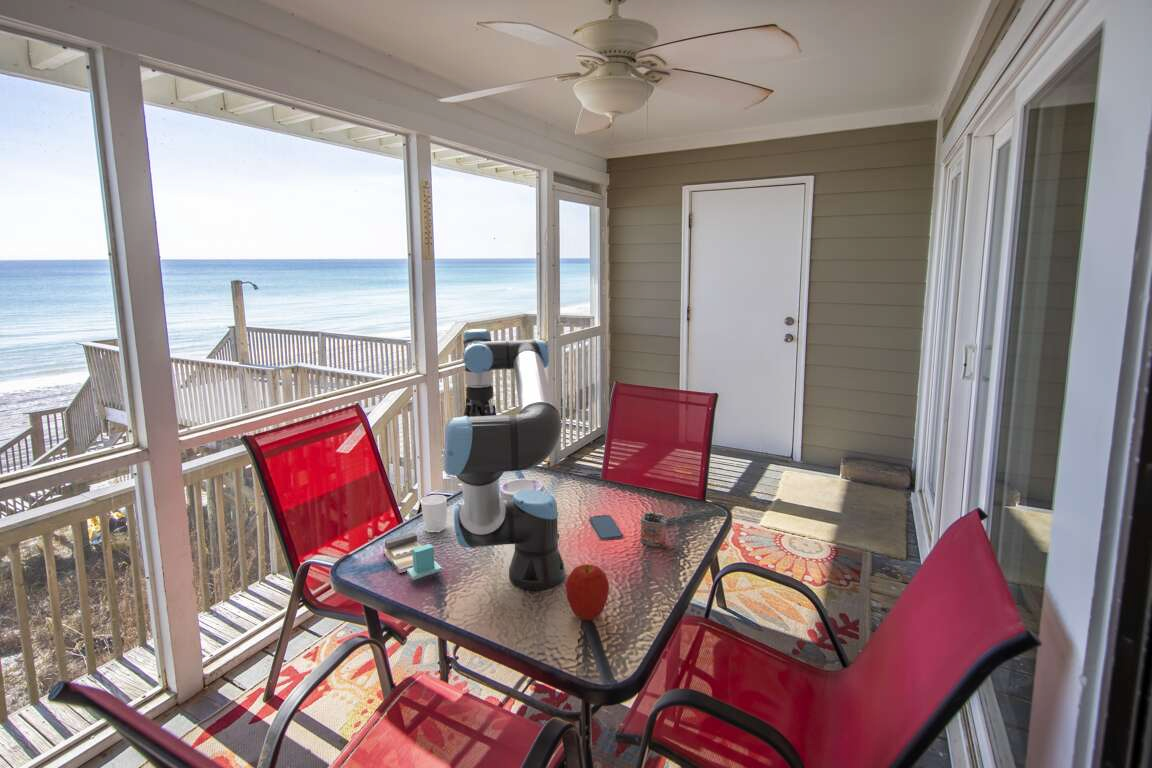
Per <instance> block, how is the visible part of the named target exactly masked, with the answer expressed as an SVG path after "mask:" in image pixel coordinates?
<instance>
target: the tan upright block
mask: <svg viewBox="0 0 1152 768" xmlns="http://www.w3.org/2000/svg"><path fill="white" fill-rule="evenodd" d="M639 520H640V540H639V542H640V543H641V544H644V545H647V546H651V547H657V548H665V547H666V546H667V541H666V534H667V533H666V532H667V529H666V528H667V521H666V520H665V514H664V513H659V512H655V511H654V510H651V511H644V516H641V517H640V519H639Z"/></svg>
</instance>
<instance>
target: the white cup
mask: <svg viewBox="0 0 1152 768" xmlns="http://www.w3.org/2000/svg"><path fill="white" fill-rule="evenodd" d="M447 501H448V500H447V497H446V496H445V495H442V494H431V495H427V496H424V497H423V498H421V500H420V504H421V505H420V506H421V513H422V519H423V524H424V530H425V529H426V530H428V531H435V532H436V531H441V530H444V529H445V528H446V529H447V515H448V514H447V513H448V512H447V509H448V507H447ZM446 529H445V530H446ZM445 530H444V531H445Z"/></svg>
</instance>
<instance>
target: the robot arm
mask: <svg viewBox="0 0 1152 768" xmlns="http://www.w3.org/2000/svg"><path fill="white" fill-rule="evenodd" d="M549 351H550V350H549V344H548V343H547V341H546V340H544V339H532V338H531V339H526V340H525V339H523V340H521V339H519V340H493V341H492V334H491V332H490V330H488V329H482V328H480V329H479V328H476V329H466V330H465V331H464V332H463V353H462V359H463V360H462V361H463V363H464V378H465V380H464V381H465V385H466V387H465V394H466V397H465V408H464V413H463V416H459V417H452V418H450V419H448V420H447V421H446V424H445V429H444V430H445V431H444V446H443V447H444V448H443V449H444V451H443V453H444V455H443V456H444V457H443V459H444V460H443V469H444V473H445V474H446V475H448V476H453V477H456V478H457V479H458V480H459V481H460V482H461V490H462V497H463V501H461V502H459V503H457V504H455V507H454V510H453V511H454V512H453V523H454V531H455V537H456V541H457V543H458V545H459V546H460V547H462V548H465V549H467V548H468V549H469V548H471V549H475V548H479V547H492V546H494V547H495V546H505V545H514V551H513V555H512V559H511V562H510V564H509V568H508V579H509V581H510V583H512V585H514V586H515V587H517V588H520V589H523V590H528V591H542V590H547V589H551V588H553V587H556V586H557V585H559V584H560V583H562V582H563V580H565V576H566V572H565V571H566V566H565V563H564V560H563V558H562V555H561V552H560V550H559V542H558V541H559V537H558V536H559V535H558V533H559V532H558V517H559V513H558V506H557V505H558V503H557V501H556V499H555V497H554V496H552V495H551V494H549V493H548V492H545V491H544V492H542V491H538V490H521V491H518V492H516V493H515V494H514V495H513V497H512V499H504V500H502V499H501V498H500V478H501V477H502V476H503V474H504V472H517V471H519V472H520V471H526V470H530V469H533V468H535V467H537V466H539V465H540V464H541V463H543V462H544V461H546V459H547V458H549V456H551V455H552V453H553V451H554V450H555V448H556V447H557V445H558V443H559V441H560V438H561V434H562V426H563V425H562V419H561V415H560V412H559V409H558V408H557V407H556V406H555V405H554V404H553V402H552V401H553V400H552V397H551V396H552V395H551V392H550V387H549V383H548V379H547V378H548V377H547V374H546V371H545V368H547V367H548V366H549V362H550V353H549ZM501 370H502V371H503V370H505V371H506V370H513V372H514V379H515V387H516V395H517V402H518V407H519V411H518V413H514V414H497V410H496V409H497V408H496V404H492V405H490V400H491V399H493V398H494V386H493V380H494V379H493V375H494V371H501Z"/></svg>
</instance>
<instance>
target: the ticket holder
mask: <svg viewBox="0 0 1152 768" xmlns="http://www.w3.org/2000/svg"><path fill="white" fill-rule="evenodd" d="M420 546H422V544H421V543H419V541H418V535H417V534H416V533H415V532H412V533H408V534H404V535H402V536H398V537H397V536H396V537H394V538H391V539H387V540H384V548H385V549H384V548H383V550H382V552H383V551H384V552H385V553H386V554H387V555H388V556H389V558H390V559H391V560H392V561H393V562H394V564H395V565H396V566H397V567H398V569H399V570H401V569H404V568H408V567H411V566H413V555H412V549H413V548H417V547H420Z"/></svg>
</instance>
